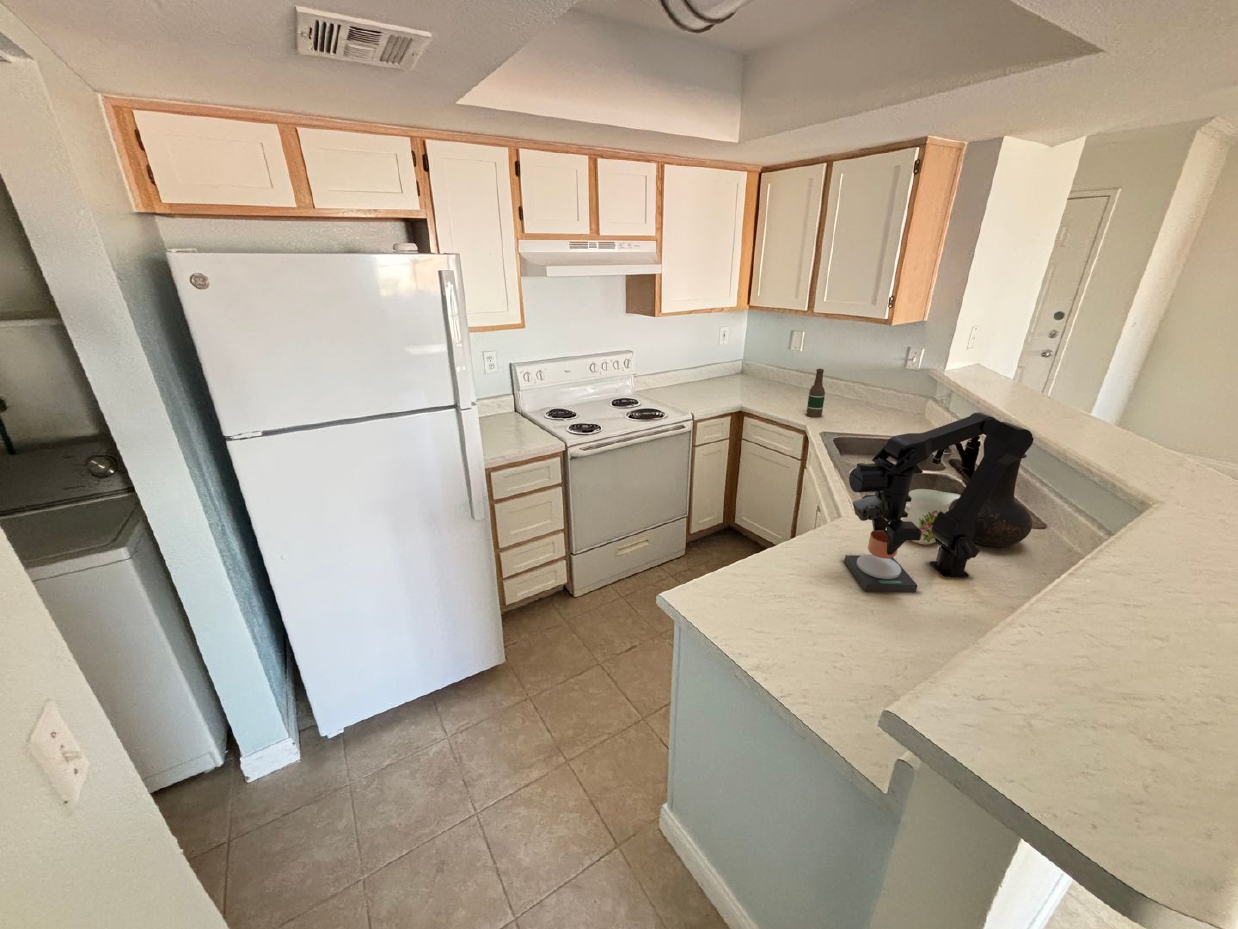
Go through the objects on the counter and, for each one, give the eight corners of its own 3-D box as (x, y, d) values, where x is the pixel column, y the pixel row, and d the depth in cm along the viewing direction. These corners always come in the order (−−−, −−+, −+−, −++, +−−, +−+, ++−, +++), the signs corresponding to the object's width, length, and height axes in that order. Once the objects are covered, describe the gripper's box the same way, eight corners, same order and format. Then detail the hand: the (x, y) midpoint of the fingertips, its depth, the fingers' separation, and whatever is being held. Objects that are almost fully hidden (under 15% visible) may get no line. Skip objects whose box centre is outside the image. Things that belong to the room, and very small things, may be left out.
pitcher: (876, 528, 149) (884, 486, 143) (939, 529, 147) (950, 487, 142) (892, 547, 138) (902, 503, 133) (960, 549, 137) (972, 504, 132)
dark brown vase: (933, 531, 146) (956, 441, 136) (973, 519, 153) (998, 432, 143) (997, 562, 131) (1029, 463, 121) (1038, 547, 138) (1071, 451, 128)
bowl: (900, 559, 121) (904, 543, 120) (874, 559, 122) (877, 543, 120) (888, 545, 127) (892, 530, 126) (863, 545, 127) (866, 529, 126)
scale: (915, 592, 120) (918, 582, 119) (864, 591, 120) (866, 581, 119) (890, 562, 132) (892, 553, 131) (844, 561, 132) (845, 552, 131)
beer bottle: (819, 418, 253) (826, 371, 244) (803, 416, 258) (809, 369, 249) (823, 415, 259) (830, 368, 250) (808, 412, 264) (814, 367, 255)
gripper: (845, 474, 127) (836, 528, 133) (877, 507, 110) (865, 567, 115) (889, 474, 127) (878, 528, 132) (929, 507, 109) (914, 568, 115)
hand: (882, 547), depth 124 cm, fingers closed on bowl, 6 cm apart
